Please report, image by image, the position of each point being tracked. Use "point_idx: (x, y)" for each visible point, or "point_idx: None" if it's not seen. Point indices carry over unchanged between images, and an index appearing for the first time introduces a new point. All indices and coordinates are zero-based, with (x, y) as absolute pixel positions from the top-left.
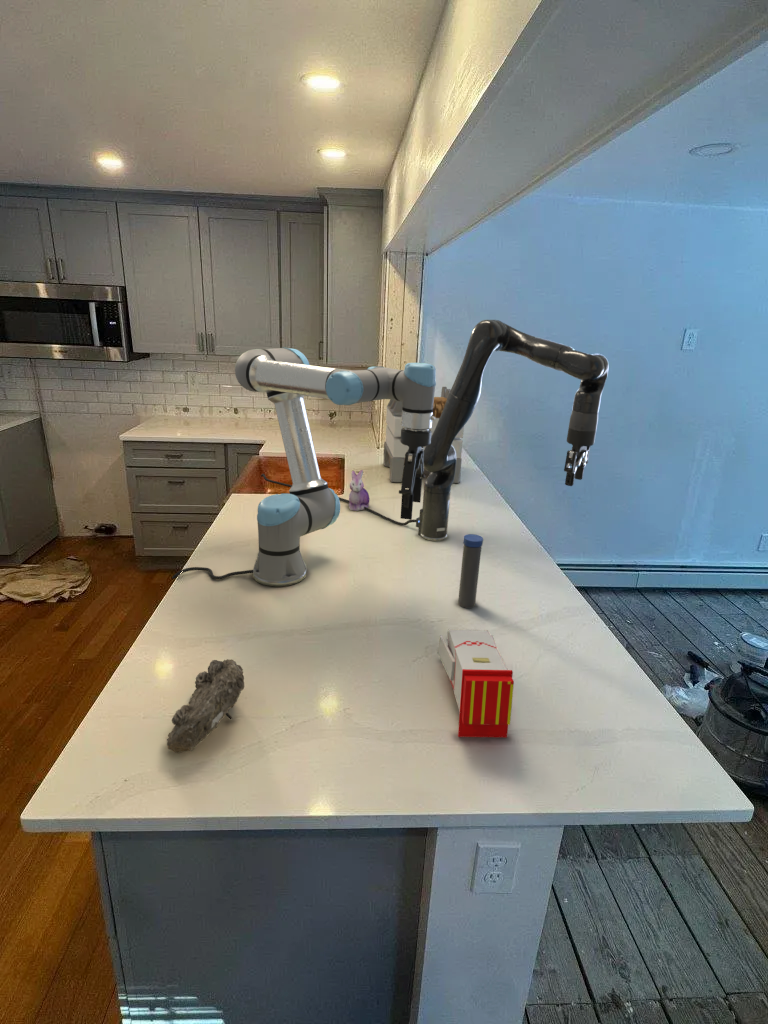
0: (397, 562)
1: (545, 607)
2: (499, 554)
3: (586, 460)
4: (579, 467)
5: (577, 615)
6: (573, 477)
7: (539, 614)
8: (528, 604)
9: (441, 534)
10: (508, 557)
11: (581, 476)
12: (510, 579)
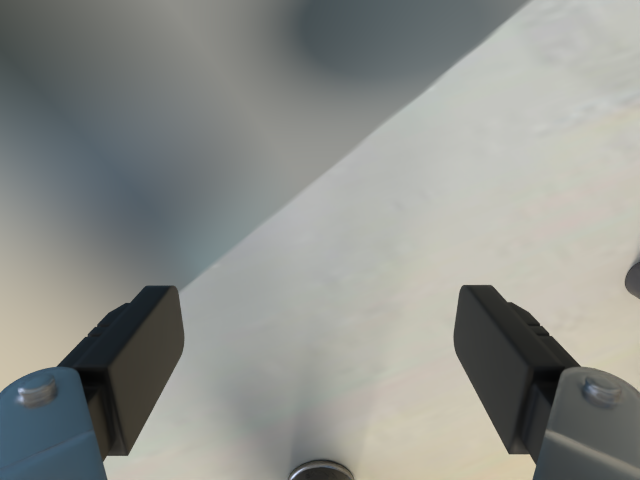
0: (512, 470)
1: (571, 109)
2: (312, 332)
3: (37, 464)
4: (119, 416)
5: (577, 9)
6: (536, 337)
7: (622, 107)
8: (576, 154)
9: (335, 478)
10: (315, 307)
11: (162, 305)
12: (451, 250)
